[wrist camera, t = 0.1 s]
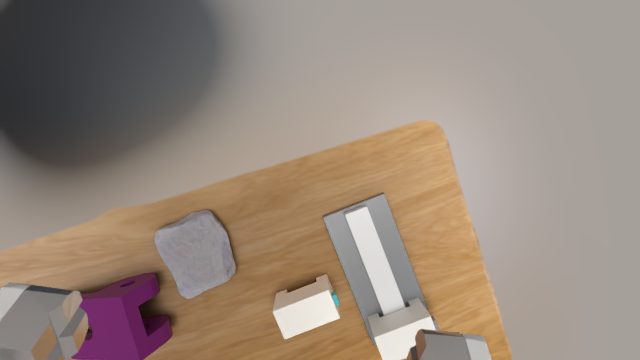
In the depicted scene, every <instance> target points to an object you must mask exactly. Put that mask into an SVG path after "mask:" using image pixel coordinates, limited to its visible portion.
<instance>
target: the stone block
mask: <svg viewBox="0 0 640 360" xmlns="http://www.w3.org/2000/svg"><path fill="white" fill-rule="evenodd" d="M154 242H155V245H156V247H157V250H158V252H159V254H160V256H161V257H162V260H163V261H164V263H165V264H166V266H167V267H168V269H169V270H170V272H171V273H172V275H173V277H174V280H175V282H176V284H177V288H178V291H179V293H180V294H181V296H183V297H184V298H189V299H191V298H194V297H195V296H197V295H199V294H200V293H202V292H204V291H206V290H209V289H211V288H214V287H216V286H218V285H220V284H223V283H225V282H227V281H228V280H230V279H231V277H232V276H233V275H234V274H235V272H236V271H235V270H236V265H235V261H234V258H233V255H232V249H231V247H230V242H229V239H228V235H227V232H226V231H225V229H224V227H223V225H222V223H221V222H220V221H219V220H217V219H216V217H215V216H214V215H213V213H212V212H210V211H208V210H202V211H198V212H193V213H190V214H189V215H188V216H186V217H184V218H183V219H182V220H180V221H178V222H175V223H172V224H170V225H167V226H164V227H162V228H161V229H159V230H158V231H156V234H155V236H154Z"/></svg>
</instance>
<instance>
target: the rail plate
mask: <svg viewBox="0 0 640 360" xmlns="http://www.w3.org/2000/svg"><path fill="white" fill-rule="evenodd" d="M323 219H324V222H325V224H326V227H327V229H328V232H329V234H330V237H331V239H332V242H333V244H334V247H335V249H336V252H337V254H338V257H339V259H340V262H341V265H342V267H343V270H344V272H345V275H346V277H347V280H348V282H349V285H350V287H351V290H352V292H353V295H354V297H355V300H356V302H357V305H358V307H359V310H360V312H361V315H362V317H363V320H364V322H365V325H366V327H367V330H368V332H369V335H370V337H371V340H372V342H373V345H375V344H376V341H375V339H374V336H373V333H372V330H371V327H370V323H369V320H368V316H371V315H373V314H376V313H378V314H379V317H383V316H386V315H388V314H391V313H393V312H396V311H399V310H401V309H404V308H406V307H409V303H408V301H410V300H412V299H415V298H417V297H418V298H419V299H420V301H421V302H422V304H423V305H424V307H425V308H426V310H427V311H428V308H427V306H426V303H425V300H424V298H423V295H422V292H421V290H420V287H419V284H418V282H417V279H416V276H415V274H414V271H413V268H412V266H411V263H410V261H409V258H408V255H407V253H406V250H405V247H404V245H403V242H402V239H401V237H400V234H399V231H398V229H397V226H396V223H395V221H394V218H393V215H392V213H391V210H390V207H389V205H388V202H387V199H386V197H385V194H384V193H382V194H379V195H377V196H374V197H371V198H369V199H366V200H364V201H361V202H359V203H356V204H353V205H351V206H348V207H346V208H343V209H341V210H338V211H335V212H333V213H330V214H328V215H325V216H323ZM428 313H429V311H428Z"/></svg>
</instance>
